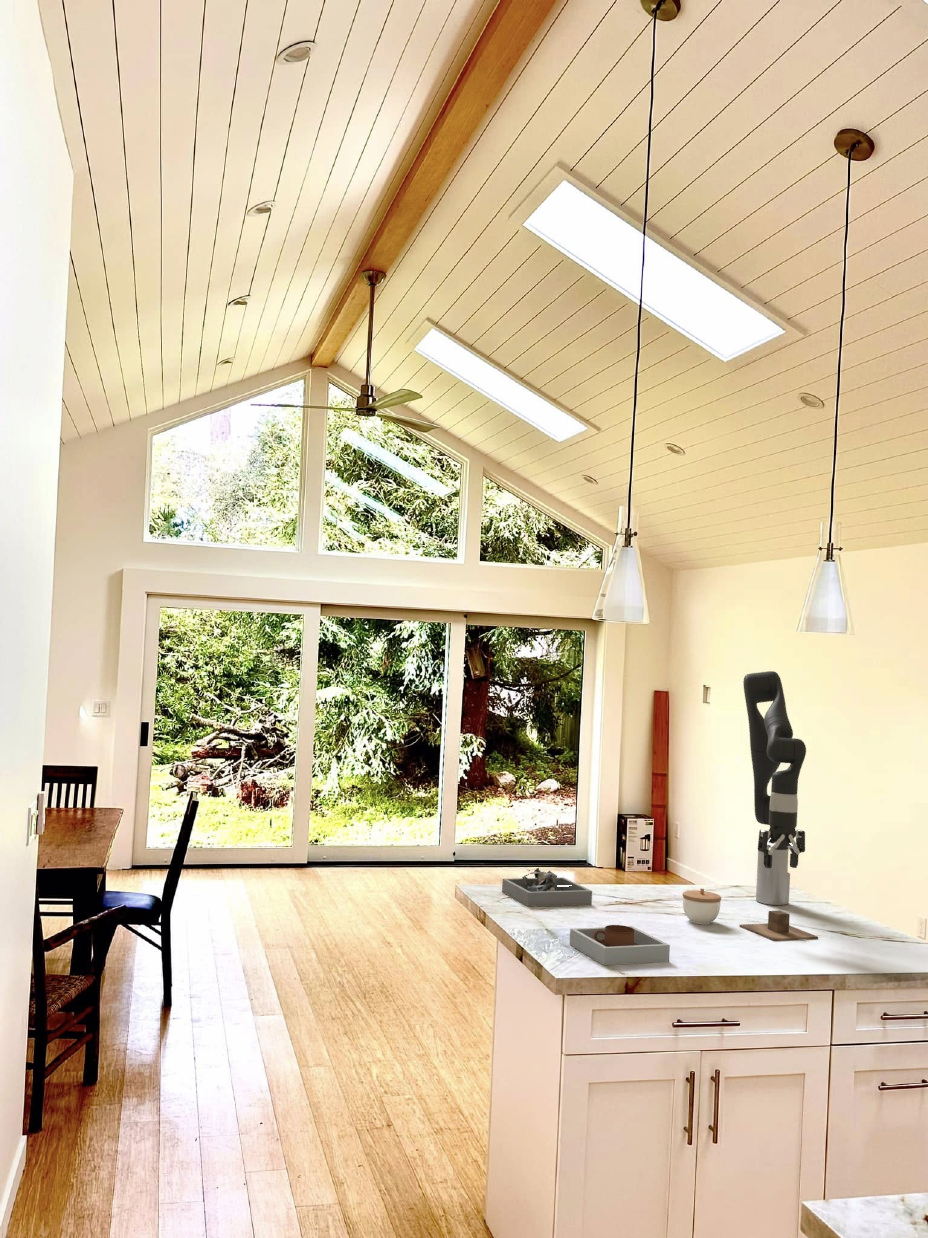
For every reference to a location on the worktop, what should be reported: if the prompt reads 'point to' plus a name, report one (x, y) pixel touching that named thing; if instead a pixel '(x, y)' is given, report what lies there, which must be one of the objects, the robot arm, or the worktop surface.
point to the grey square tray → (620, 947)
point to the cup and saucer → (617, 936)
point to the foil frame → (548, 893)
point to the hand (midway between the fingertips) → (780, 867)
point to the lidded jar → (701, 906)
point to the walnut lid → (778, 928)
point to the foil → (540, 881)
